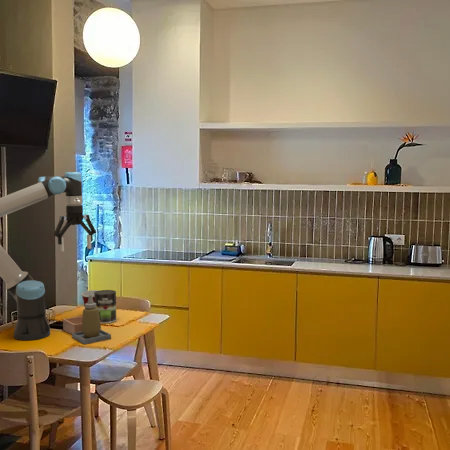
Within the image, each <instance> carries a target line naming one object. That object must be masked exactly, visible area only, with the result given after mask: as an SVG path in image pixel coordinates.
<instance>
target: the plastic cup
mask: <svg viewBox="0 0 450 450" xmlns="http://www.w3.org/2000/svg"><path fill="white" fill-rule="evenodd" d="M96 291H99V289H98V290H97V289H96V290H95V289H94V290H93V289H91V290H85V291H83V292H81V293H80V295H81V297H82V300H83V305H84V307H85V304H86V303H88V298H89V295H92V298H93V302H94V303H95V295H94V292H96Z"/></svg>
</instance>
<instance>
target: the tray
mask: <svg viewBox="0 0 450 450" xmlns="http://www.w3.org/2000/svg"><path fill="white" fill-rule="evenodd" d="M71 335H72V336H71V338H72V339H73V338H74V340H75V339H76V341H77V340H78V341H77V342H79V343H81V344H83V345H88V344H93V343H98V342H102V341H107V340H111V339H112V334H111V333H110V332H107V331H105V330H103V329H102V328H101V329H100V332H99V336H98V337H93V338H86V337H85V336H84V333H83V331H82V332H76V333H72V334H71Z"/></svg>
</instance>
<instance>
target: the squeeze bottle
mask: <svg viewBox="0 0 450 450" xmlns="http://www.w3.org/2000/svg"><path fill="white" fill-rule="evenodd" d="M82 316H83V319H82V331H83V333H84V336H85V337H86V338H93V337H98V336H99V332H100V329H101V330H102V326H101V325H102V323H101V324H100V316H99V309H98V308H96V303H94V302H93V298H92V295H89V298H88V303H86V304H85V306H84V309H83V310H82Z"/></svg>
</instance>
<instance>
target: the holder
mask: <svg viewBox="0 0 450 450" xmlns="http://www.w3.org/2000/svg"><path fill="white" fill-rule="evenodd" d="M82 319H83V315H80V316H73V317H69V318H63V319H62V327H63V329H62V330H63V331H64V332H66V333H68V334H70V335H72V333H76V332H82ZM100 324H101V325H102V323H101V322H100Z"/></svg>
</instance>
